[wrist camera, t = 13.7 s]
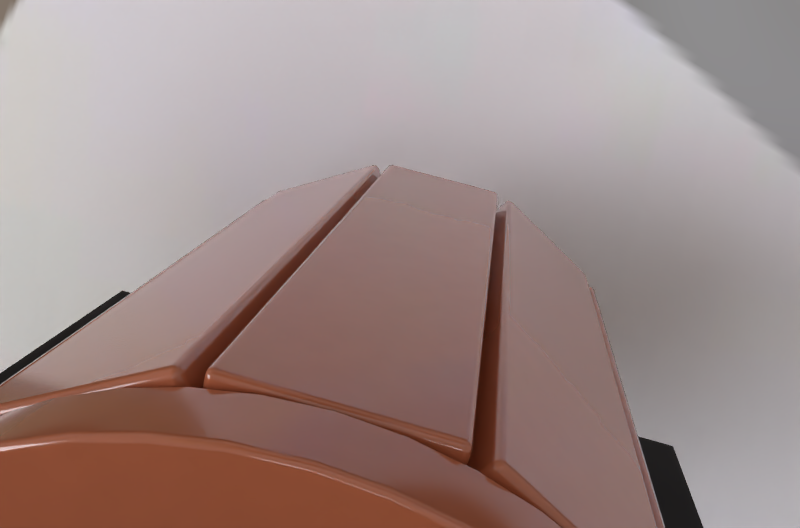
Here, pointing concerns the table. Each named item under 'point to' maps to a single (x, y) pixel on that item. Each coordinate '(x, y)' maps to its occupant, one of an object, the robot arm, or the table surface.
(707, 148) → the table surface
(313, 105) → the table surface
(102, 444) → the terracotta cylinder
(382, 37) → the table surface
